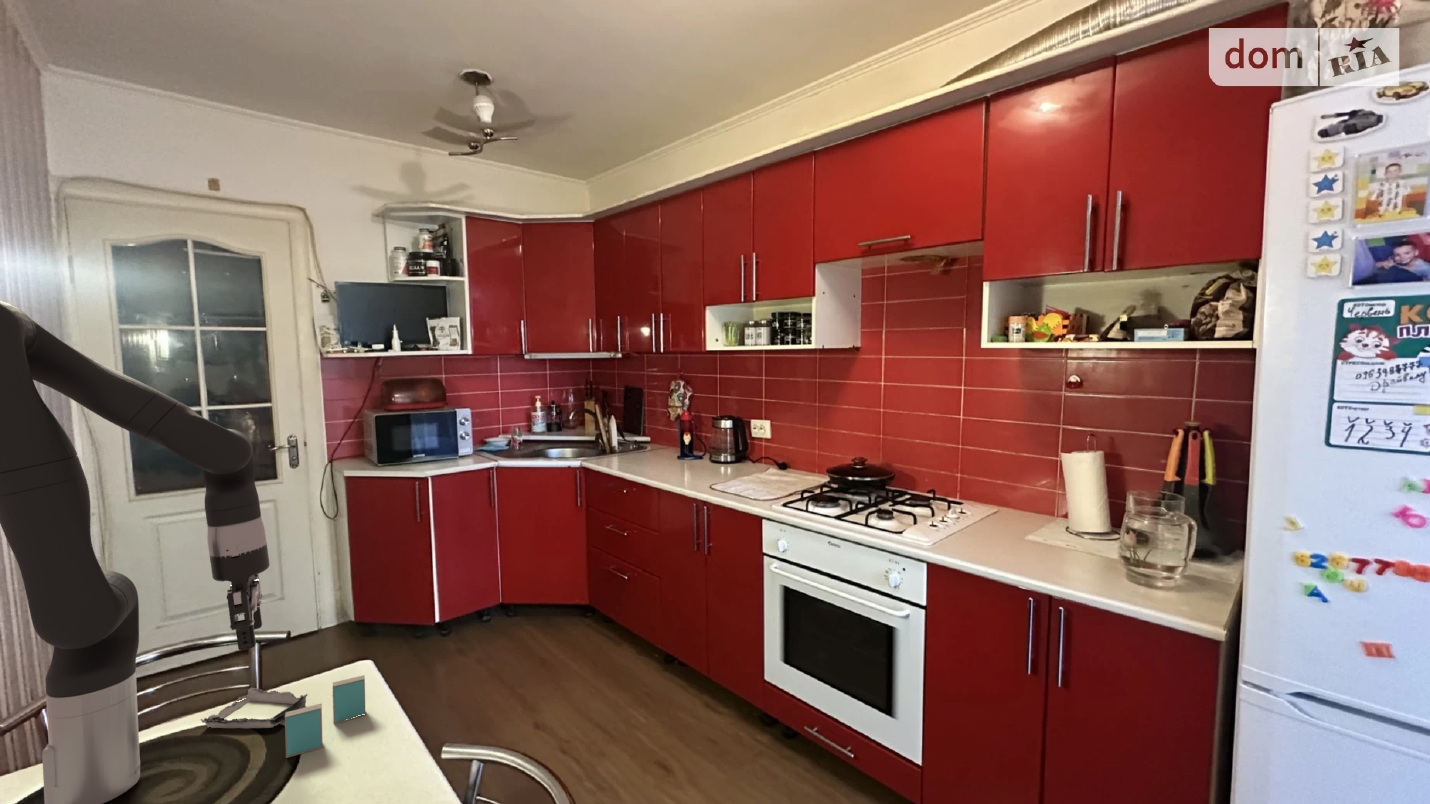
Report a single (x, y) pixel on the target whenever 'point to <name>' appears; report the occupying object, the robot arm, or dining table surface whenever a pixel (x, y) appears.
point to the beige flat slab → (303, 730)
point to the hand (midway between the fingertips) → (251, 638)
